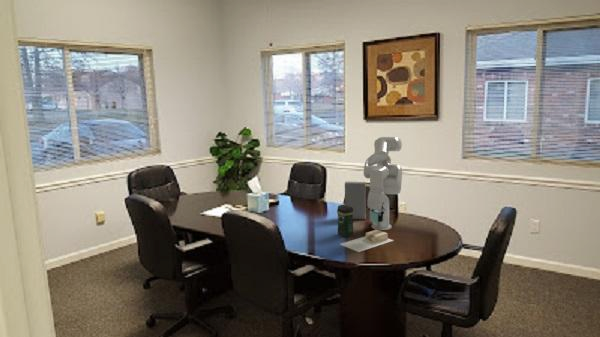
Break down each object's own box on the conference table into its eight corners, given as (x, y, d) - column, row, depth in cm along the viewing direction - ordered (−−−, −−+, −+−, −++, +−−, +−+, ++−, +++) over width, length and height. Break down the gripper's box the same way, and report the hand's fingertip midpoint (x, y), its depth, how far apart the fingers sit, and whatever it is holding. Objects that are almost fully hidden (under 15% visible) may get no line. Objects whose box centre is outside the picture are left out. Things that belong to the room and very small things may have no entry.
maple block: (365, 239, 265) (365, 232, 265) (376, 236, 271) (376, 229, 270) (376, 243, 258) (376, 236, 257) (387, 239, 263) (387, 233, 263)
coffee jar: (355, 235, 273) (355, 206, 270) (346, 238, 269) (345, 208, 265) (345, 231, 281) (344, 202, 277) (335, 234, 276) (334, 205, 273)
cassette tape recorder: (365, 217, 311) (365, 181, 306) (365, 219, 305) (365, 183, 300) (345, 216, 313) (345, 181, 309) (344, 219, 307) (344, 183, 303)
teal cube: (369, 220, 263) (369, 211, 262) (376, 219, 266) (376, 210, 265) (376, 223, 258) (376, 213, 257) (383, 221, 261) (383, 211, 260)
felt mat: (339, 244, 259) (339, 244, 259) (373, 234, 275) (373, 233, 275) (358, 252, 246) (358, 251, 246) (393, 241, 262) (393, 240, 262)
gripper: (361, 188, 263) (361, 218, 267) (383, 193, 250) (382, 225, 253) (370, 186, 268) (370, 216, 271) (392, 191, 254) (392, 222, 257)
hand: (376, 220), depth 262 cm, fingers closed on teal cube, 5 cm apart
